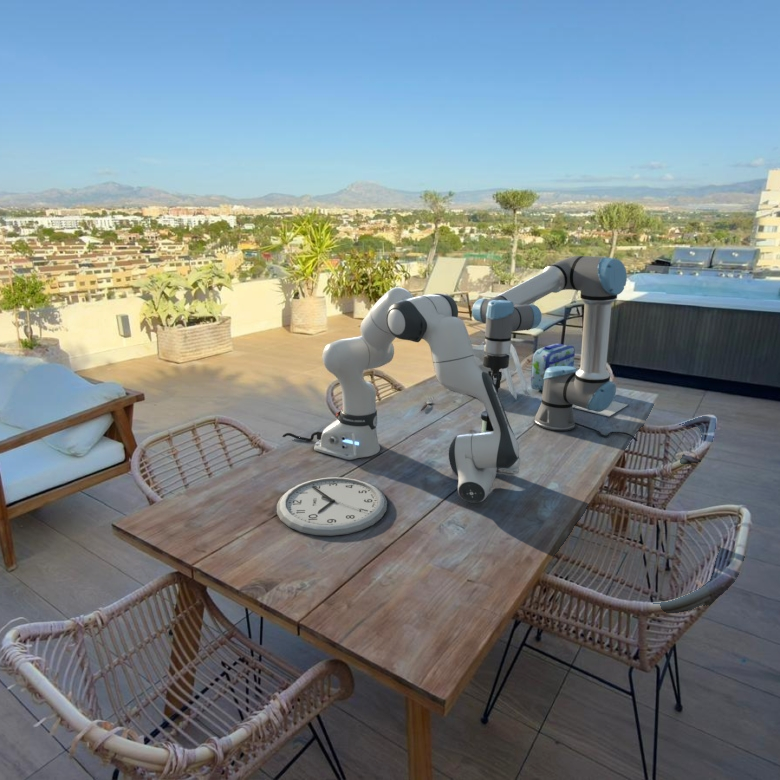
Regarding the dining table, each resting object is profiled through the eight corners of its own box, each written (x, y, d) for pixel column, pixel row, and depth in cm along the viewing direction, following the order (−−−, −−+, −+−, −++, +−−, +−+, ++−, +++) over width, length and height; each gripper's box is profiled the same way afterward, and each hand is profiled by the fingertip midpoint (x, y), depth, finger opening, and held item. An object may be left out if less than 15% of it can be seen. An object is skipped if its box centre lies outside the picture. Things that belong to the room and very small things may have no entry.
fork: (417, 411, 216) (418, 406, 216) (428, 400, 231) (428, 395, 230) (423, 412, 215) (424, 407, 215) (434, 400, 230) (434, 396, 229)
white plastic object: (461, 429, 252) (437, 405, 227) (444, 352, 274) (420, 323, 250) (535, 404, 240) (518, 377, 215) (510, 326, 262) (492, 293, 237)
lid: (490, 424, 156) (491, 418, 156) (476, 417, 161) (477, 412, 161) (506, 420, 159) (506, 415, 159) (492, 414, 164) (492, 409, 164)
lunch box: (547, 395, 239) (552, 351, 233) (526, 390, 247) (530, 347, 240) (574, 384, 257) (579, 343, 251) (554, 380, 264) (558, 339, 258)
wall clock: (392, 527, 129) (268, 531, 127) (391, 533, 130) (269, 537, 127) (383, 473, 158) (282, 475, 155) (383, 478, 158) (282, 480, 156)
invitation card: (608, 416, 214) (573, 407, 224) (608, 416, 214) (573, 408, 224) (628, 404, 229) (594, 396, 238) (628, 405, 229) (594, 397, 238)
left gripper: (519, 464, 148) (523, 446, 160) (448, 453, 154) (458, 436, 167) (517, 484, 150) (521, 464, 162) (447, 472, 156) (457, 454, 168)
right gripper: (484, 345, 165) (479, 413, 171) (482, 361, 145) (477, 437, 152) (509, 346, 163) (503, 414, 170) (510, 362, 144) (503, 439, 150)
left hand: (489, 450), depth 164 cm, fingers closed on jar, 5 cm apart
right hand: (490, 425), depth 161 cm, fingers open, 8 cm apart
